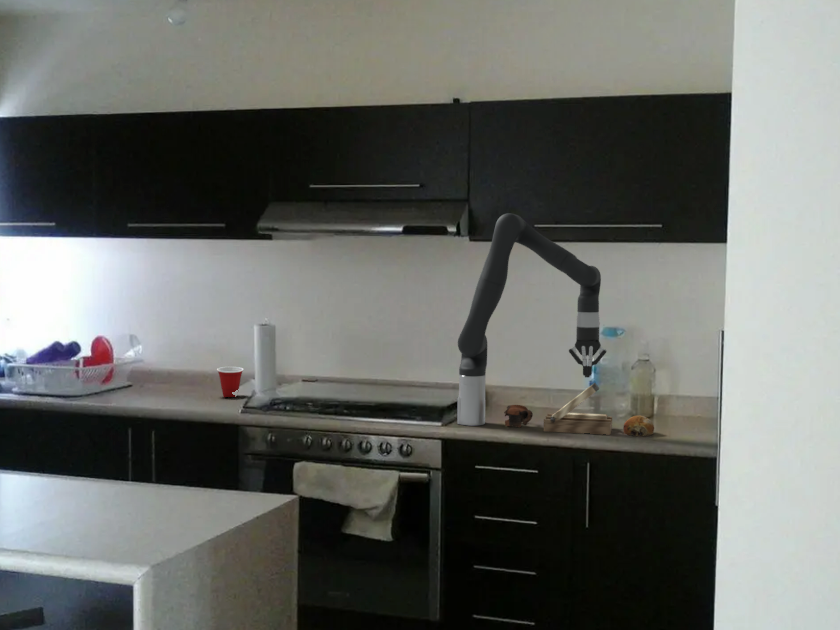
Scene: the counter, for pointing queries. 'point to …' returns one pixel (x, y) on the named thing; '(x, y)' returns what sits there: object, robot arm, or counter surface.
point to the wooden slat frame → (579, 423)
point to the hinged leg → (575, 402)
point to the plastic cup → (229, 379)
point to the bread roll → (638, 426)
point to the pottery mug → (517, 415)
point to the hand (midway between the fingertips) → (587, 377)
